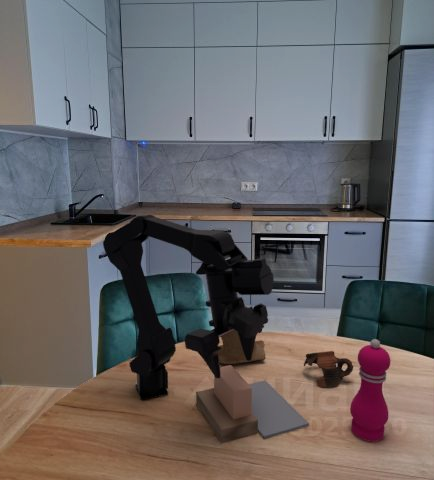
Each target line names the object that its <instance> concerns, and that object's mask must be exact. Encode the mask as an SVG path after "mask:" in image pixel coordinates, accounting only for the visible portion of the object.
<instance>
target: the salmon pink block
mask: <svg viewBox="0 0 434 480" xmlns="http://www.w3.org/2000/svg"><path fill="white" fill-rule="evenodd" d="M213 376H214V375H213ZM249 384H250V383H248V382H247V381H246V380H245V379H244V378H243V376H242V375H241V374H240V373H239V372H238V371H237V370H236V369H235V368H234V367H233V365H232V364H228V365H224V366H220V378H219V379H218V378H216V377H215V376H214V377H213V388H214V394H215V395H216V397H217V398H218V399H219V401H220V402H221V403H222V405H223V406H224V407H225V409H226V410H227V411H228V413H229V414H230V415H231V417H232V418H233V419H237V418H241V417H244V416H248V415H251V402H252V387H251V386H250V385H249Z"/></svg>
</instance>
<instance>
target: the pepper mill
mask: <svg viewBox="0 0 434 480" xmlns="http://www.w3.org/2000/svg"><path fill="white" fill-rule="evenodd" d="M357 362H358V364H359V368H358V369H359V372H358V375H359V377H360V387H359V389H358V391H357V393H356V394H355V395H354V397H353V399H352V400H351V403H350V407H349V410H350V411H349V412H350V414H351V417H352V419H351V423H350V424H351V425H350V429H351V431H352V433H353V434H354V435H355V436H356V437H357V438H359V439H361V440H363V441H368V442H378V441H381V440H382V439H384V436H385V425H386V424H387V423H388V420H389V409H388V408H389V407H388V405H387V401H386V399H385V397H384V394H383V384H384V382H386V380H387V371H388V370H389V368H390V367H391V356H390V354H389V352H388V350H386V349H385V348H383V347H382V346H381V341H380V340H378V339H376V338H373V339H372V340H370V343H369V344H367V345H364V346H363V347H362V348H360V349H359V351H358V354H357Z"/></svg>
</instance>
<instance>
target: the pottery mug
mask: <svg viewBox="0 0 434 480" xmlns="http://www.w3.org/2000/svg"><path fill="white" fill-rule="evenodd" d="M305 358H306V359H305V360H304V363H303V367H306V365H308V366H310V367H312V366H313V364H316V366H317V367H318V368H319V369H320V370H321V371H322V374H323V375H322V376H319V377H316V378H315V382H316V385H317V387H320V388H322V387H323V388H324V387H338V386H340V382H341V381H342V380H343V379H344V378H345V377H348V376H350V375H351V373H352V372H353V370H354V365H353V362H352V360H350V359H349V358H345V357H343V358H339V357H338V356H336V354H335V350H334V351H332V350H330V351H321V352H312V353H311V352H310V353H306V354H305ZM344 365H347V368H346V369H345V370H344V369H343V366H344Z"/></svg>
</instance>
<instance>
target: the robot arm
mask: <svg viewBox="0 0 434 480" xmlns="http://www.w3.org/2000/svg"><path fill="white" fill-rule="evenodd" d="M232 236H233V235H231V234H230V233H229V232H227V231H224V230H223V231H222V230H215V229H209V230H208V229H195V228H193V227H188V226H185V225H182V224H179V223H176V222H173V221H170V220H166V219H164V218H159V217H156V216H155V215H153V214H143V215H137V216H135V217H134V218H133V219H132V220H130V221H129V222H128V223H126V224H124V225H122V226H120V227H119V228H117V229H115V230H114V231H112V232H111V231H110V232H108V233H106V235H105V237H104V240H103V242H102V247H103V250H104V251H105V254H106V256H107V258H108V261H109V262H110V263H111V264H112V265H113V266H114V267H115V268H116V269H117V270H118V271H119V272H120V274H121V275H120V276H121V278H122V282H123V285H124V287H125V292H126V293H127V294H126V295H127V297H128V301H129V303H130V307H131V310H132V313H133V316H134V319H135V322H136V323H135V324H136V325H137V329H138V334H137V339H136V349H137V354H138V355H137V356H135V357H134V358H133V359H132V360H131V361H130V362H129V363H128V365H129V368H130V371H131V373H133V374H136V384H135V385H134V386H135V387H134V388H135V390H136V392H137V394H138V397H139V400H141V401H144V400H151V399H154V398H158V397H163V396H167V395H168V394H169V391H168V388H169V371H168V370H167V369H166V364H168V363H170V361H171V359H172V358H173V357H174V355H175V354H176V349H177V347H176V345H177V341H176V340H175V337H174V333H173V330H172V328H171V327H167V328H166V327H165V326H164V325H163V324H162V323H161V322H160V320H159V317H158V313H157V311H156V307H155V304H154V302H153V298H152V295H151V291H150V289H149V285H148V283H147V279H146V277H145V273H144V270H143V267H142V266H143V265H142V260H143V255H144V247H143V243H144V242H146V241H147V240H148V239H149V237H150V238H153V239H155V240H159V241H161V242H165V243H167V244H170V245H173V246H176V247H179V248H182V249H184V250H186V251H187V252H189V254H190V255H191V256H192V257H193V258H195V259H197V260H198V261H200V262H201V264H200V266H199V268H198V269H197V270H196V271H195V274H196V275H198V276H200V275H201V276H202V275H205V278H206V285H207V292H208V299H209V300H207V301H206V300H205V306H206V307H209V308H210V312H211V318H212V319H211V320H208V325H209V327H213V329H211V330H210V329H204V328H198V329H197V328H196V329H195V330H193V331H191V332H189V333H187V334H186V335H185V337H184V345H185V349H186V350H189V351H190V350H191V351H192V352H197V353H198V355H200V357H201V358H202V360H203V361H204V362H205V364H206V366H207V367H208V369H209V370H210V371H211V372H212V374H213V376H215V377H216V378H218V379H219V378H220V367H221V365H220V361H219V357H218V353H219V352H220V350H221V347H218V346H220V343H221V341H220V338H221V336H224V335H226V334H228V333H230V332H232V331H234V330H236V331H237V332H238V335H239V338H240V342H241V345H242V349H243V352H244V355H245V357H246V360H248V361H250V362H252V361H251V359H252V354H253V348H254V343H255V341H256V338H257V335H258V334H260V333H262V332H263V329H264V328H265V325H266V324H268V323H269V318H268V316H269V315H268V309H267V306H266V305H265V304H263V303H258V304H256V305H254V306H246V305H245V300H244V299H243V296H249V295H250V296H252V295H253V296H257V295H258V296H261V295H264V296H268V295H270V294H272V292H273V288H274V282H275V281H274V273H273V272H272V270H271V268H270V266H269V265H268V264H267V260H266V258H265V257H263V258H262V257H261V258H256V259H248V257H247V256H246V255H245V254H244V253H243V251H241V249H240V248H239V247H238V246H237V244H236V243H235V241H234V238H233V237H232ZM238 295H241V296H238ZM245 306H246V307H245ZM247 307H249V308H247ZM222 330H223V331H222Z"/></svg>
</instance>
